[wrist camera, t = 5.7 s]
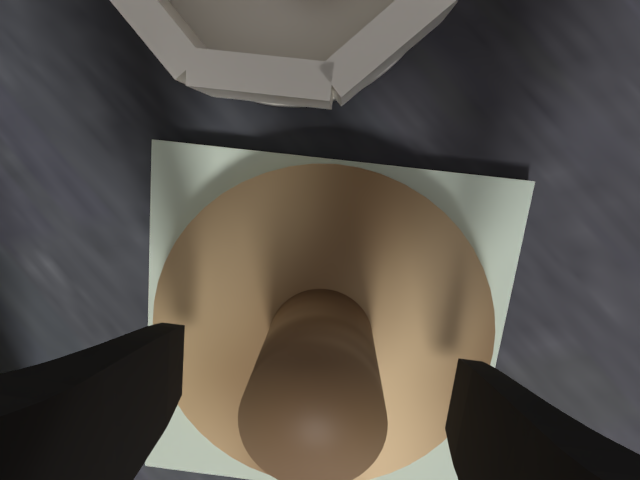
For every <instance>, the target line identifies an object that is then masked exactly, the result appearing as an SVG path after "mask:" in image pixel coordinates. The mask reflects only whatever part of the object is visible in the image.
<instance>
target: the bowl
mask: <svg viewBox="0 0 640 480" xmlns="http://www.w3.org/2000/svg"><path fill="white" fill-rule="evenodd" d="M110 1H111V3H112V4H113V5H114V6H115V7H116V9H117V10H118V11H119V12H120V13H121V15H122V16H123V17H124V18H125V20H126V21H127V22H128V23H129V24H130V26H131V27H132V28H133V29H134V30H135V32H136V33H137V34H138V35H139V37H140V38H141V39H142V40H143V41H144V43H145V44H146V45H147V46H148V47H149V49H150V50H151V51H152V52H153V54H154V55H155V56H156V57H157V58H158V60H159V61H160V62H161V63H162V65H163V66H164V67H165V68H166V69H167V71H168V72H169V73H170V74H171V75H172V77H173V78H174V79H175V80H177V81H179V82H181V83H184V84H186V86H188V87H190V88H192V89H195V90H197V91H200V92H202V93H205V94H207V95H209V96H212V97H219V98H228V99H237V100H247V101H252V102H255V103H258V104H264V105H269V106H275V107H292V108H298V107H312V108H322V109H331V110H332V104H333V101H336V100H337V102H338V103H339V104H340V106H343V105H344V104H345V103H346V102H347V101H349V100H350V99H351V98H352V97H353V96H355V95H356V94H357V93H358V92H359V91H360V90H362V89H363V88H365V87H366V86H368V85H370V84H371V83H373V82H374V81H375V80H377V79H378V78H379V77H381V76H382V75H383V74H385V73H386V72H387V71H388V70H389V69H390V68H391V67H392V66H394V65H395V64H396V63H397V62H398V61H399V60H400V59H401V58H402V57H403V55H404V54H405V53H406V52H407V51H408V50H409V49H411V48H412V47H413V46H414V45H415V44H416V43H418V42H419V41H420V40H421V39H422V38H424V37H425V36H426V35H427V34H428V33H430V32H431V31H432V30H433V29H434V28H436V27H437V26H438V25H439V24H440V23H441V22H442V21H443V20H444V19H445V17H446V16H447V15H448V13H449V12H450V11H451V10H452V8H453V7H454V6H455V5H456V3H457V2H458V1H459V0H110Z"/></svg>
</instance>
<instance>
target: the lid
mask: <svg viewBox="0 0 640 480" xmlns="http://www.w3.org/2000/svg"><path fill="white" fill-rule="evenodd" d="M162 322H163V323H171V324H179V325H185V334H184V358H183V383H182V396H181V398H180V400H179V403H178V406H179V407H180V409H181V410H182V412H183V413H184V415H185V416H186V417H187V418H188V420H189V421H190V422H191V423H192V424H193V425H194V426H195V428H196V429H197V430H198V431H199V432H200V433H201V434H202V435H203V436H204V437H206V438H207V439H208V440H209V441H210V442H211V443H212V444H213V445H215V446H216V447H217V448H219V449H220V450H222V451H223V452H224V453H226V454H227V455H229V456H230V457H232V458H233V459H235V460H237V461H239V462H241V463H243V464H245V465H246V466H248V467H250V468H253V469H255V470H258V471H260V472H263V473H265V474H268V475H270V476H272V477H274V478H276V479H277V480H370V479H373V478H376V477H380V476H383V475H386V474H389V473H392V472H394V471H396V470H399V469H401V468H403V467H405V466H408V465H410V464H411V463H413V462H415V461H416V460H418V459H420V458H421V457H423V456H425V455H427V454H428V453H429V452H430V451H432V450H433V449H434V448H436V447H437V446H438V445H439V444H441V443H442V442H443V441H444V440H445V439H446V438H447V436H446V431H445V425H446V420H447V414H448V409H449V404H450V399H451V394H452V389H453V383H454V378H455V373H456V368H457V363H458V358H460V359H468V360H476V361H483V362H485V363H487V364H489V365H490V364H491V360H492V356H493V350H494V340H495V311H494V306H493V300H492V295H491V289H490V286H489V283H488V280H487V277H486V274H485V271H484V269H483V266H482V265H481V263H480V261H479V259H478V257H477V255H476V253H475V251H474V249H473V247H472V246H471V244H470V243H469V241H468V240H467V239H466V237H465V236H464V234H463V233H462V231H461V230H460V229H459V228H458V227H457V225H456V224H455V223H454V222H453V221H452V220H451V219H450V218H449V217H448V216H447V215H446V214H445V213H444V212H443V211H442V210H441V209H440V208H438V207H437V206H436V205H435V204H434V203H432V202H431V201H430V200H429V199H427V198H426V197H425V196H423V195H421V194H420V193H418V192H416V191H415V190H413V189H412V188H410V187H408V186H407V185H405V184H403V183H401V182H399V181H396V180H394V179H392V178H389V177H387V176H385V175H383V174H380V173H377V172H373V171H370V170H366V169H363V168H359V167H354V166H347V165H340V164H305V165H296V166H289V167H285V168H282V169H278V170H274V171H270V172H266V173H263V174H261V175H258V176H256V177H253V178H251V179H249V180H246V181H244V182H241V183H240V184H238V185H236V186H235V187H233V188H231V189H229V190H228V191H226V192H224V193H222V194H221V195H220V196H218V197H217V198H216V199H215V200H213V201H212V202H211V203H210V204H208V205H207V206H206V207H204V208H203V209H202V210H201V211H200V212H199V214H198V215H197V216H196V217H195V218H194V219H193V220H192V221H191V222H190V223H189V224H188V225H187V227H186V228H185V229H184V231H183V232H182V233H181V235H180V236H179V238H178V239H177V240H176V242H175V244H174V246H173V247H172V249H171V251H170V253H169V255H168V257H167V259H166V261H165V263H164V266H163V269H162V272H161V275H160V277H159V280H158V285H157V289H156V294H155V299H154V310H153V325H154V324H157V323H162Z"/></svg>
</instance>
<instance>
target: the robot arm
mask: <svg viewBox="0 0 640 480" xmlns="http://www.w3.org/2000/svg"><path fill="white" fill-rule="evenodd" d="M184 334H185V325H179V324H171V323H163V322H162V323H157V324H154V325H150V326H147V327H144V328H141V329H139V330H136V331H133V332H131V333H128V334H125V335H123V336H120V337H117V338H115V339H112V340H109V341H107V342H104V343H101V344H99V345H96V346H93V347H90V348H87V349H84V350H81V351H78V352H75V353H73V354H70V355H67V356H64V357H61V358H58V359H55V360H51V361H48V362H45V363H41V364H38V365H34V366H30V367H26V368H22V369H19V370H15V371H11V372H7V373H2V374H0V480H133V479H134V478H135V476H136V475H137V473H138V472H139V470H140V469H141V467H142V465H143V464H144V462H145V461H146V459H147V458H148V456H149V455H150V453H151V452H152V450H153V449H154V447H155V445H156V444H157V442H158V441H159V439H160V438H161V436H162V434H163V433H164V431H165V430H166V428H167V426H168V424H169V422H170V420H171V418H172V416H173V414H174V412H175V409H176V407H177V405H178V403H179V400H180V398H181V396H182V383H183V358H184ZM445 431H446V436H447V440H448V445H449V450H450V454H451V458H452V462H453V466H454V469H455V472H456V475H457V477H458V480H640V455H639V454H637V453H635V452H633V451H631V450H630V449H628V448H626V447H624V446H622V445H620V444H618V443H616V442H614V441H612V440H610V439H608V438H606V437H604V436H603V435H601V434H599V433H597V432H595V431H594V430H592V429H590V428H588V427H587V426H585V425H583V424H582V423H580V422H578V421H577V420H575V419H573V418H572V417H570V416H568V415H567V414H565V413H563V412H562V411H560V410H559V409H557V408H555V407H554V406H552V405H551V404H549V403H548V402H546V401H545V400H543V399H541V398H540V397H538V396H537V395H535V394H534V393H532V392H531V391H529V390H528V389H526V388H525V387H523V386H522V385H520V384H519V383H517V382H516V381H514V380H513V379H511V378H510V377H508V376H507V375H505V374H504V373H502V372H501V371H499V370H497V369H496V368H494V367H492V366H491V365H489V364H487V363H485V362H483V361H476V360H468V359H460V358H458V363H457V368H456V373H455V378H454V383H453V389H452V394H451V399H450V404H449V409H448V414H447V420H446V425H445Z"/></svg>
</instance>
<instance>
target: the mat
mask: <svg viewBox="0 0 640 480" xmlns="http://www.w3.org/2000/svg"><path fill="white" fill-rule="evenodd" d="M305 164H340V165H347V166H354V167H359V168H363V169H366V170H370V171H373V172H377V173H380V174H383V175H385V176H387V177H389V178H392V179H394V180H396V181H399V182H401V183H403V184H405V185H407V186H408V187H410V188H412V189H413V190H415V191H416V192H418V193H420V194H421V195H423V196H425V197H426V198H427V199H429V200H430V201H431V202H432V203H434V204H435V205H436V206H437V207H438V208H440V209H441V210H442V211H443V212H444V213H445V214H446V215H447V216H448V217H449V218H450V219H451V220H452V221H453V222H454V223H455V224H456V225H457V227H458V228H459V229H460V230H461V231H462V233H463V234H464V236H465V237H466V239H467V240H468V241H469V243H470V244H471V246H472V247H473V249H474V251H475V253H476V255H477V257H478V259H479V261H480V263H481V265H482V266H483V269H484V271H485V274H486V277H487V280H488V283H489V286H490V289H491V295H492V300H493V306H494V311H495V340H494V350H493V356H492V360H491V364H490V365H491V366H492V367H494V368H495V366H496V361H497V356H498V352H499V347H500V342H501V338H502V333H503V329H504V324H505V319H506V315H507V310H508V305H509V301H510V296H511V291H512V287H513V282H514V277H515V273H516V268H517V263H518V259H519V254H520V250H521V245H522V240H523V236H524V231H525V226H526V222H527V217H528V212H529V208H530V203H531V198H532V194H533V189H534V184H535V182H534V181H528V180H519V179H510V178H501V177H492V176H483V175H473V174H464V173H455V172H446V171H437V170H428V169H419V168H410V167H401V166H391V165H382V164H373V163H364V162H355V161H346V160H337V159H328V158H319V157H309V156H300V155H291V154H282V153H273V152H264V151H255V150H246V149H237V148H227V147H218V146H209V145H200V144H191V143H182V142H173V141H164V140H152V150H151V200H150V250H149V300H148V326H150V325H153V310H154V299H155V294H156V289H157V285H158V280H159V277H160V275H161V272H162V269H163V266H164V263H165V261H166V259H167V257H168V255H169V253H170V251H171V249H172V247H173V246H174V244H175V242H176V240H177V239H178V238H179V236H180V235H181V233H182V232H183V231H184V229H185V228H186V227H187V225H188V224H189V223H190V222H191V221H192V220H193V219H194V218H195V217H196V216H197V215H198V214H199V212H200V211H201V210H202V209H203V208H204V207H206V206H207V205H208V204H210V203H211V202H212V201H213V200H215V199H216V198H217V197H218V196H220V195H221V194H222V193H224V192H226V191H228V190H229V189H231V188H233V187H235V186H236V185H238V184H240V183H241V182H244V181H246V180H249V179H251V178H253V177H256V176H258V175H261V174H263V173H266V172H270V171H274V170H278V169H282V168H285V167H289V166H296V165H305ZM145 466H151V467H159V468H166V469H174V470H182V471H189V472H197V473H205V474H212V475H220V476H228V477H235V478H243V479H251V480H277V479H276V478H274V477H272V476H270V475H268V474H265V473H263V472H260V471H258V470H255V469H253V468H250V467H248V466H246V465H245V464H243V463H241V462H239V461H237V460H235V459H233V458H232V457H230V456H229V455H227V454H226V453H224V452H223V451H222V450H220V449H219V448H217V447H216V446H215V445H213V444H212V443H211V442H210V441H209V440H208V439H207V438H206V437H204V436H203V435H202V434H201V433H200V432H199V431H198V430H197V429H196V428H195V426H194V425H193V424H192V423H191V422H190V421H189V420H188V418H187V417H186V416H185V415H184V413H183V412H182V410H181V409H180V407H179V406H178V405H177V407H176V409H175V412H174V414H173V416H172V418H171V420H170V422H169V424H168V426H167V428H166V430H165V431H164V433H163V434H162V436H161V438H160V439H159V441H158V442H157V444H156V445H155V447H154V449H153V450H152V452H151V453H150V455H149V456H148V458H147V459H146V461H145ZM370 480H458V477H457V475H456V472H455V469H454V466H453V462H452V458H451V454H450V450H449V445H448V440H447V438H446V439H445V440H444V441H443V442H442V443H441V444H439V445H438V446H437V447H436V448H434V449H433V450H432V451H430V452H429V453H428V454H427V455H425V456H423V457H421V458H420V459H418V460H416V461H415V462H413V463H411V464H410V465H408V466H405V467H403V468H401V469H399V470H396V471H394V472H392V473H389V474H386V475H383V476H380V477H376V478H373V479H370Z"/></svg>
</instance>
